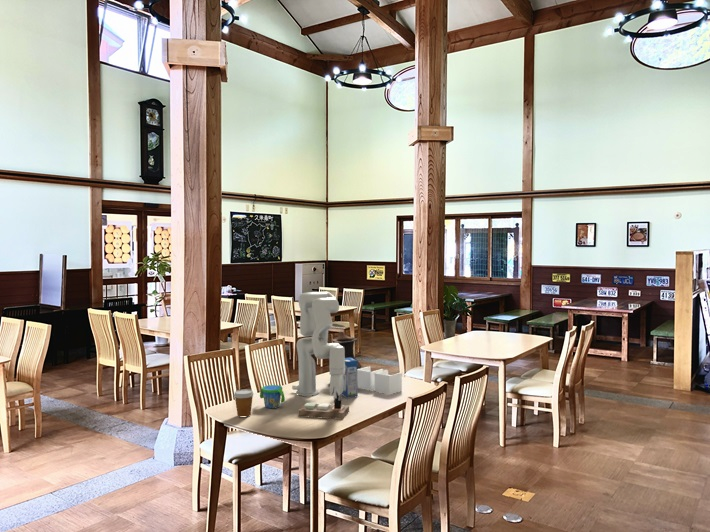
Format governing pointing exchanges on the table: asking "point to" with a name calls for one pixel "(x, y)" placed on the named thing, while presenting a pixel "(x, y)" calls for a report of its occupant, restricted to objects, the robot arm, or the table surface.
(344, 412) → the tray
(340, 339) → the jug
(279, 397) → the snack cup
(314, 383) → the robot arm
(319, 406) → the cream button
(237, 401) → the disposable coffee cup
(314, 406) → the sage button
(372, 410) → the table surface
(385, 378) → the storage container
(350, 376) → the milk carton
